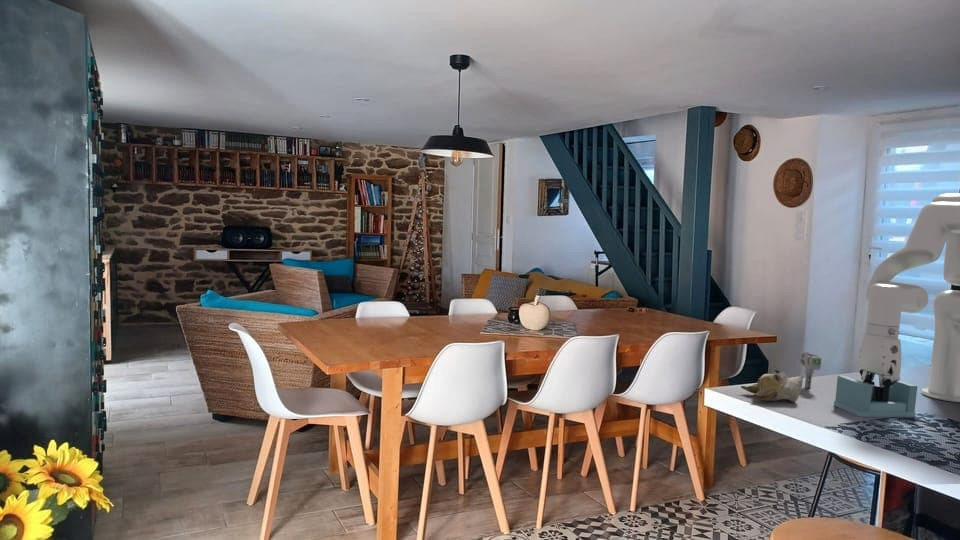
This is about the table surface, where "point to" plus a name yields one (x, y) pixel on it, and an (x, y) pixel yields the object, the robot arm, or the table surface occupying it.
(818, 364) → the mechanical component
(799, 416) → the table surface
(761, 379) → the ceramic sculpture
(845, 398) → the teal open frame
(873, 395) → the brushed grey metal block
